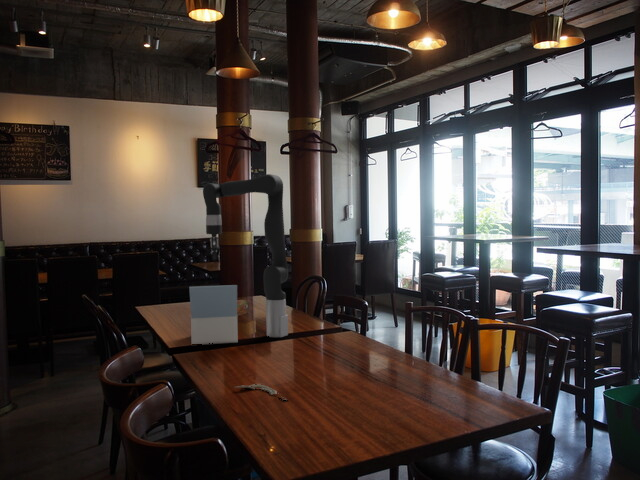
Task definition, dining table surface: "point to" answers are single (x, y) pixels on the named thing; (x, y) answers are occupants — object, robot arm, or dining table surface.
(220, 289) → the lid flap
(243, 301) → the tin
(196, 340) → the carton
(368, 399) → the dining table surface
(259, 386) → the jawbone
